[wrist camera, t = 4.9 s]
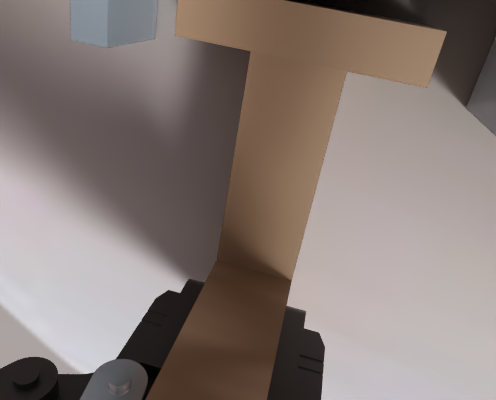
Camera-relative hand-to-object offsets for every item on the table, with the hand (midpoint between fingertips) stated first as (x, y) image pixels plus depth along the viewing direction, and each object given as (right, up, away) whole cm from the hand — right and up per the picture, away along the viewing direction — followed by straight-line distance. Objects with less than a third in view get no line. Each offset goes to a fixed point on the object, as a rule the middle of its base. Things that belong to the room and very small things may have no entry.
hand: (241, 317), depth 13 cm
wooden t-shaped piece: (+1, +4, +1) cm, 4 cm away
